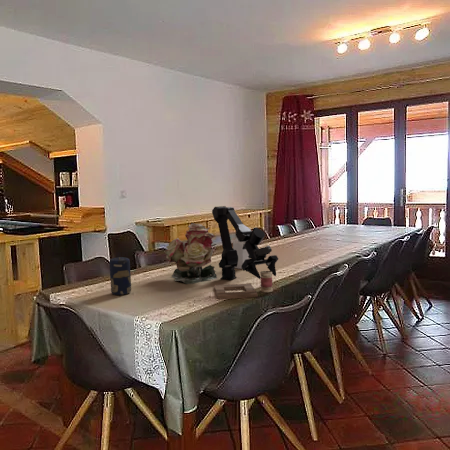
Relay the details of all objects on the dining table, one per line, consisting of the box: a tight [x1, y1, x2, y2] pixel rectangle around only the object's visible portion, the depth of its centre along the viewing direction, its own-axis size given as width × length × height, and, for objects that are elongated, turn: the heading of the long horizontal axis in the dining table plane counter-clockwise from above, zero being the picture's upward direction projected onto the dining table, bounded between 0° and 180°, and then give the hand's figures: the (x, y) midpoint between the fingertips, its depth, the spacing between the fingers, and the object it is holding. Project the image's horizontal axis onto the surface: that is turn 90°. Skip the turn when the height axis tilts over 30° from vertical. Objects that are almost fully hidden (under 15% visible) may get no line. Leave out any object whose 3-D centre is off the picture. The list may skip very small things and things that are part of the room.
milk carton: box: [232, 236, 251, 270], centre depth 264 cm, size 7×7×19 cm
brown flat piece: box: [213, 282, 259, 300], centre depth 208 cm, size 20×18×2 cm
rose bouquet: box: [164, 223, 218, 285], centre depth 238 cm, size 26×29×30 cm
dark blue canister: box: [108, 256, 132, 296], centre depth 211 cm, size 10×10×18 cm
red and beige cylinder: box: [259, 270, 274, 293], centre depth 209 cm, size 6×6×9 cm
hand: (268, 277), depth 208 cm, fingers open, 9 cm apart
